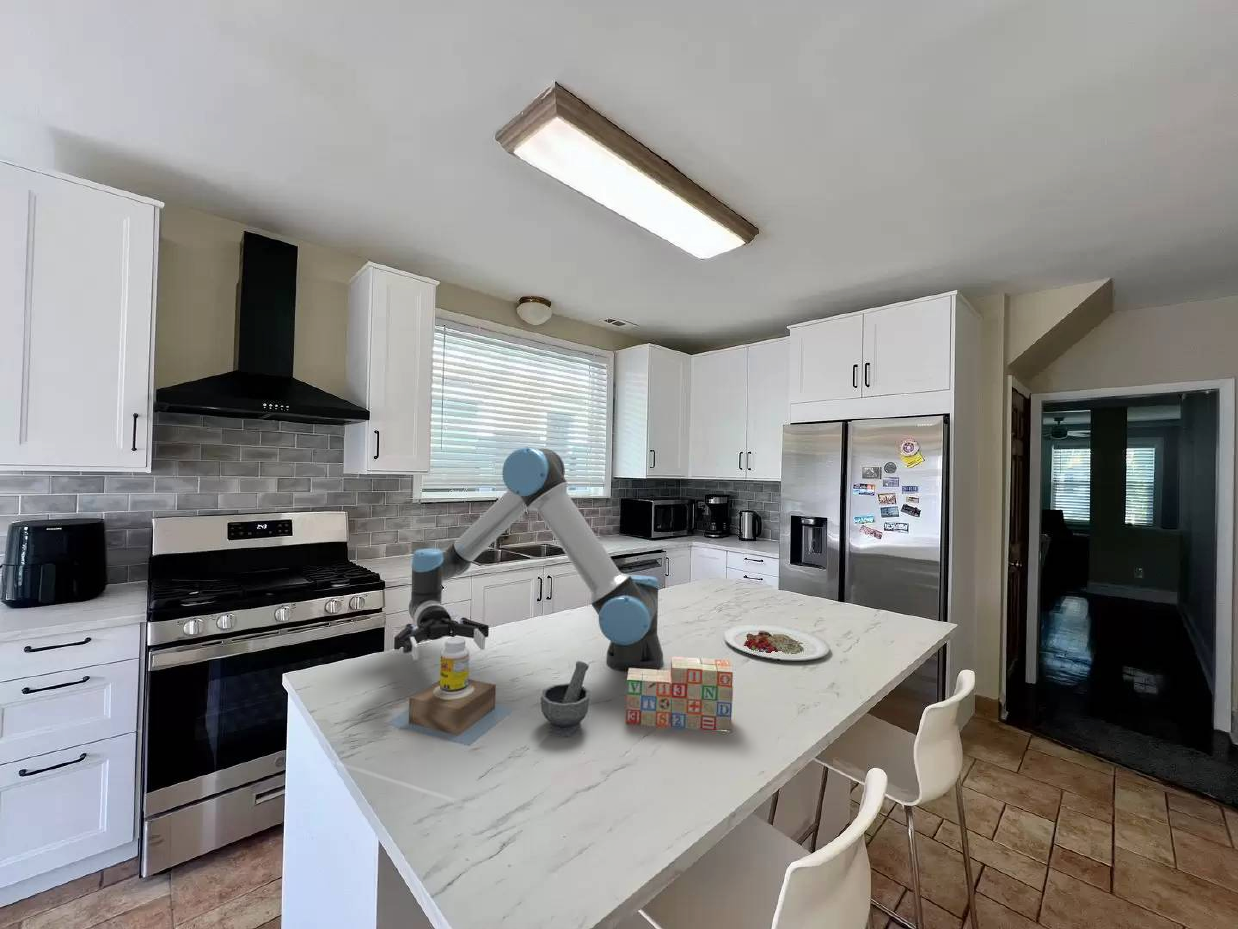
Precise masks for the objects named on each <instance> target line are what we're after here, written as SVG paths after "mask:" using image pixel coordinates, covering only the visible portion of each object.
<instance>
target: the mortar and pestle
mask: <svg viewBox="0 0 1238 929" xmlns="http://www.w3.org/2000/svg"><path fill="white" fill-rule="evenodd" d="M588 670H589V664H588V663H586V662H583V661H579V660H578V661H576V663H575V669H574V672H573V674H572V676H571V679H570V682H569V683H560V684H553V685H551V686H548V687H547V688H544V689H543V690H542V693H541V696H540V708H541V712H542V715H543V716H544V718H545V719H546V720H547V721H548V722H549V726H548V727H549V732H550V733H551V734H552V735H553V736H558V737H561V738H562V737H563V738H565V737H571V736H575V735H576V734H577V733H579V732H581V731H580V729H581V722H582V721H583V720H584V719H585V718H586V716H587V713H588V711H589V705H590V692H591V691H590V690H588V689H587V688H586V687H584V686H583V684H584V680H585V676H586V673H587V671H588Z"/></svg>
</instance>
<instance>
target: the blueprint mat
mask: <svg viewBox="0 0 1238 929" xmlns="http://www.w3.org/2000/svg"><path fill="white" fill-rule="evenodd" d="M516 709H517V707H514V706H510V705H505V704H501V703H496V702H495V709H494V710H492V711H491V712H490V713H488V714H487V715H486V716H484V717H483V718H482V719H480V720H479V721H477V722H476V723H475V724H473V725H472V726H471V727H469V728H468V729H467V730H465V731H464V732H463V733H461V734H460V735H459V736H458V735H454V734H450V733H446V732H442V731H439V730H435V729H431V728H427V727H423V726H419V725H415V724H412V723H409V709H407V710H406V711H404V712H402V713H401V714H399V715H397V716H395V717H393V718H391V719H390V720H389V721H387V722H385V723H384V724H385V725H389V726H394V727H397V728H400V729H404V730H409V731H412V732H416V733H420V734H423V735H427V736H432V737H434V738H437V739H442V740H446V741H450V742H453V743H458V744H460V745H461V744H462V745H464V746H471V745H472V744H473V743H475V742H476V741H478V739H480V738H481V737H482V736H484V735H485V734H486V733H487V732H488V731H490V730H491V729H493V728H494V727H495V726H496V725H497V724H499V723H500V722H501V721H503V720H504V719H505V718H506V717H507V716H509V715H511V713H512V712H514V711H515V710H516Z"/></svg>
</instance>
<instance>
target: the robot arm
mask: <svg viewBox="0 0 1238 929" xmlns="http://www.w3.org/2000/svg"><path fill="white" fill-rule="evenodd" d="M502 466H503V467H502V471H501V474H502V480H503V483H504V485H505V487H506V488H507V491H506V492H505V493H503V495H502V496H500V497H499V499H498V500H496V501H495V502H494V503H493V504H492V505H491V506H490V507H489V508H488V509H487V510H486V511H485V512H484V513H483V514H482V515H481V516H479V518H477V520H476V521H474V522H473V524H471V525H470V527H468V529H467V530H466V531H464V533H462V534H461V535H460V536H459V537H458V538H457V539H456V540H455V541H454V542H453V543H452V544H451V545H450V546H449V547H448V548H446V550H445V551H442V550H441V549H439V548H423V549H417V550H415V551H414V552H413V554H412V561H411V593H410V601H409V603H408V613H409V615H410V617H411V619H412V620H413V622H414V624H415V626H414V625H412V623H407V624H406V625H405V627H404V629H402V630H401V631H400V632H399V633H397V634H396V635H395V636H394V638H393V640H394V642H393V650H395V651H397V650H400V649H401V648H403V651H402V652H403V653H404V654H408V653H409V652H410V654H411V656H412V659H413V661H417V660H419V645H418V644H420V643H421V642H423V641H428V640H429V641H435V640H439V639H441V638H444V637H449V638H453V637H462V638H468V639H473V642H474V643H475V644H476V646H477V647H478V648H479V649H480V650H481V651H482V650H483V651H484V650H485V649H486V648H485V647H486V646H485V645H486V638H488V637H489V630H490V629H489V628H490V626H489V625H488V624H484V623H481V622H477V621H474V620H472V619H468V618H467V617H461V619H460V620H459V621H458V620H453V619H452V618H451V615H450V614H449V612H448V611H447V609H446V608H445V607H444V605H442V599H443V598H442V597H443V596H442V595H443V581H446V580H449V579H451V578H453V577H456V576H460V575H463V574H464V573H465V572H466V571H468V570H469V569H470V568H471V566H472V562H474V560H476V559H477V558H478V556H479V555H481V554H482V553H483V552H484V551H485V550H486V549H487V548H488V547H490V545H491V544H493V542H495V541H496V540H497V539H498V538H499V537H500V536H501V535H502V534H503V533H504V532H505V531H506V530H507V529H508V528H509V527H510V526H511V525H513V524H514V522H516V521H517V520H518V519H519V518H520V517H521V516H522V515H523V514H524V513H526V511H528V510H529V511H530V510H531V511H536V512H537V513H538V514H539V516H540V518H541V519H542V521H543V522H544V523H545V525H546V526H547V528H548V529H549V531H550V533H551V534H552V535H553V537H554V538H555V540H556V541H557V543H558V545H559V546H560V548H561V549H562V550H563V552H564V554H565V556H567V558H568V560H569V561H570V563H571V564H572V566H573V567H574V569H575V570H576V571H577V573H578V575H579V576H580V578H581V579H582V581H583V582H584V584H585V585H586V587H587V588H588V590H589V592H590V601H589V602H590V604H591V607H592V608H593V609H594V610H595V612H596V614H597V615H598V626H599V629H600V631H601V633H602V634H603V636H604V637H605V638H606V639H608V640H609V641H610V642H609V645H608V648H607V652H606V664H607V665H608V666H610V667H611V668H613V669H614V670H615V669H616V670H618V671H621V672H627V673H628V671H629V668H637V669H653V670H659V669H660V668H661V667H662V666H663V664H664V654H663V649H662V645H661V642H660V639H659V636H658V612H659V611H658V610H659V591H660V586H659V580H658V579H657V577H655V576H650V575H640V574H628V573H623V572H621V571H620V570H619V568H618V567H617V565H616V563H615V562H614V561H613V559H612V558H611V556H610V555H609V553H608V551H606V549H605V547H604V546H603V544H602V543H601V541H600V540H599V538H598V537H597V535H596V533H595V532H594V531H593V530H592V528H591V527H590V525H589V524H588V522H587V521H586V519H585V517H584V515H582V513H581V512H580V510H579V509H578V507H577V506H576V504H575V503H574V501H573V500H572V498H571V496H569V494H568V491H567V490H568V486H569V483H568V481H567V480H566V479H565V475H566V474H565V473H566V469H565V464H564V461H563V460H562V458H561V457H560V455H559V454H557V452H555V451H553V450H551V449H548V448H538V447H537V448H536V447H533V446H526V447H521V448H518V449H515V450H513V451H512V452H511V453H510V454H509V455H508V456H507V458H506V459H505V461H504V463H503V465H502Z"/></svg>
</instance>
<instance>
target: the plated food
mask: <svg viewBox="0 0 1238 929" xmlns="http://www.w3.org/2000/svg"><path fill="white" fill-rule="evenodd" d="M746 632H759V633H758V635H753V634H750V633H748V634H747V635H746V637H747V640H748V641H747V640H746V641H745V643H744V645H743V646H747V647H748V648H749V649H751V650H753V651H754V650H755V651H758V650H759V652H764V651H765V652H766V653H771V652H772V651H775V652H778V651H782V652H783V653H785V654H786V653H787V654H789V653H791V654H797V653H800V652H802V651H803V652H804V650H805V649H804V648H803V647H802V646H801V645H800V644H803V643H802V642H799V641H796V640H793V639H792V638H790V637H789V636H787V635H784V634H779V633H785V634H788V635H792V636H795V637H797V638H803V639H805V640H807V641H808V642H810V643H811V644H814V645H815V647H816V650H817V652H816V653H815V654H814V655H810V654H809V656H807V655H803V656H807V657H801V658H781V657H773V656H767V655H762V654H758V653H755V652H752V651H749V650H747V649H744V648H742V647H741V646H739V645H738V644H737V643H736V641H735V639H736V638H737V637H738V636H739V635H741V634H743V633H746ZM769 632H779V633H778V634H772V635H773V636H772V635H771V634H770V633H769ZM723 638H724V640H725V642H726V643H728V645H730V646H731V647H733V648H735V649H737V650H739V651H741V652H744V653H746V654H750V655H754V656H756V657H761V658H765V657H766V659H770V658H772V659H771V660H777V659H780V660H779V661H808V660H815V659H820V658H823V657H825V656H826V655H828V654H829V653H830V650H831V648H830V644H828V642H827V641H826V640H825V639H823V638H822V637H820V636H818V635H816V634H814V633H810V632H807V631H805V630H800V629H797V628H792V627H789V626H781V625H773V624H745V625H743V624H742V625H737V626H734V627H731V628H730V629H728V630H726V631H725V632H724V636H723ZM798 642H799V643H798ZM806 650H807V649H806ZM809 650H813V649H809Z"/></svg>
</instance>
